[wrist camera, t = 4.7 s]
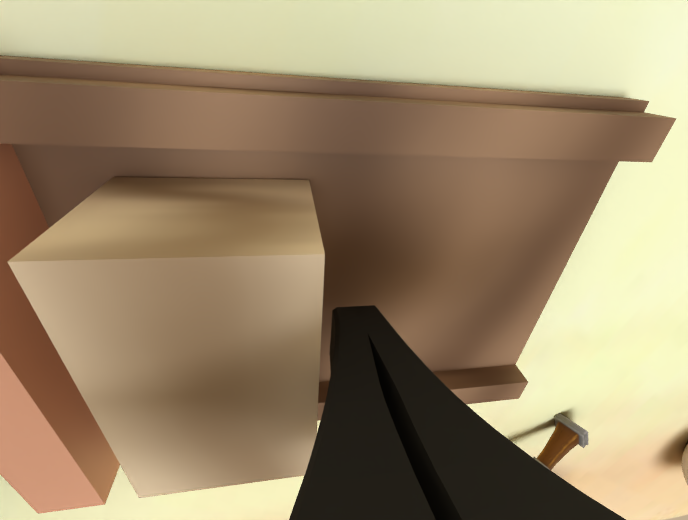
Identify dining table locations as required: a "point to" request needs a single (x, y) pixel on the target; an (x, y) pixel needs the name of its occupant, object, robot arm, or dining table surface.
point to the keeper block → (189, 324)
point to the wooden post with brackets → (562, 441)
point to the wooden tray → (331, 209)
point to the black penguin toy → (685, 463)
